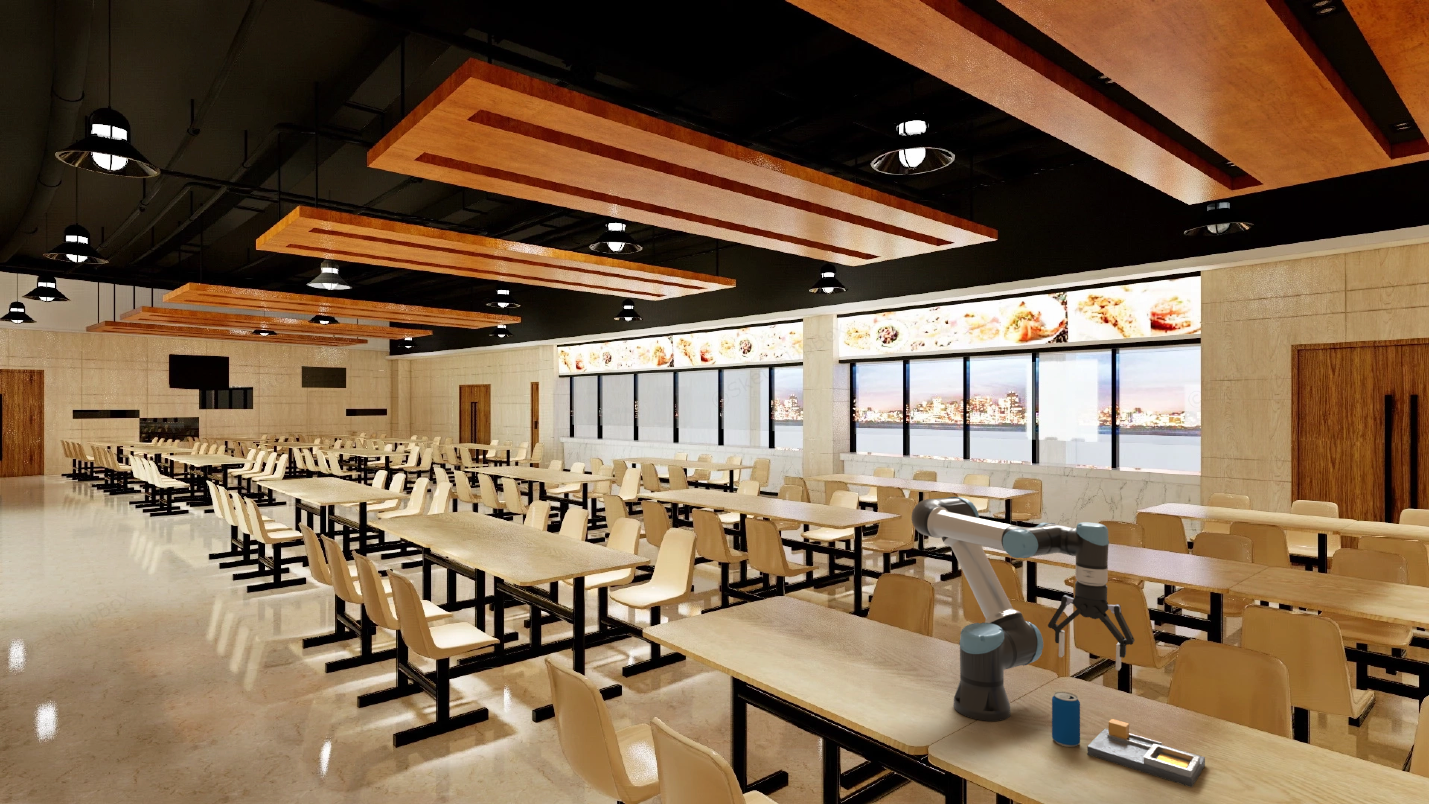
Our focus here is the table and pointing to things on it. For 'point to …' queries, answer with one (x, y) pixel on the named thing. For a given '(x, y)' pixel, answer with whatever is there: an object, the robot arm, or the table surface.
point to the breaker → (1119, 728)
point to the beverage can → (1066, 719)
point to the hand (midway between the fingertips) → (1089, 662)
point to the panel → (1148, 757)
